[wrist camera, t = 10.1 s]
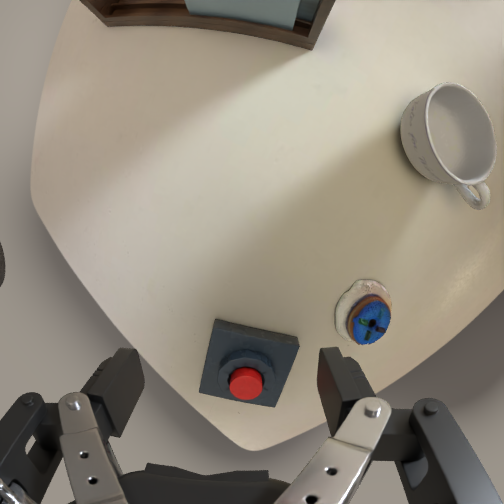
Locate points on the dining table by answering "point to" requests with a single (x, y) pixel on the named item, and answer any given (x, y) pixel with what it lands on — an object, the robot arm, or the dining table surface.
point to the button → (246, 383)
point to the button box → (247, 360)
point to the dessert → (363, 312)
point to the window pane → (249, 10)
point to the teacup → (451, 140)
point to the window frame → (212, 19)
